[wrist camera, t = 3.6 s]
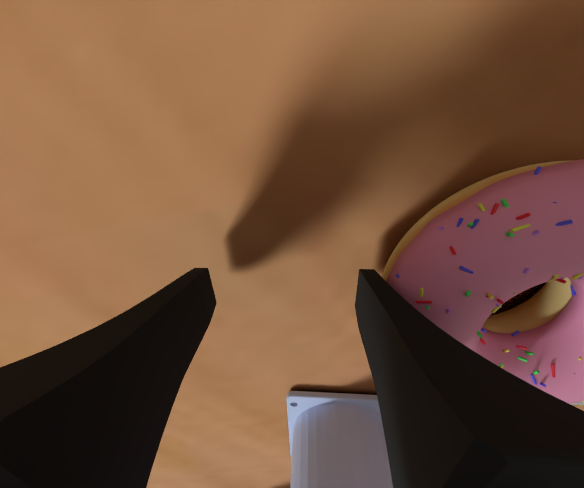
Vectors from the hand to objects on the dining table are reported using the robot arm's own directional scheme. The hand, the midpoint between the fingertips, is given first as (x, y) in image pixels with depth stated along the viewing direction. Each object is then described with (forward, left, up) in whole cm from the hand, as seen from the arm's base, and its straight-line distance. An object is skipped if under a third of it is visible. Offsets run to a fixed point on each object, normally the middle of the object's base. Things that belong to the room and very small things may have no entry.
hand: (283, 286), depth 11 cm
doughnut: (0, -10, -2) cm, 10 cm away
